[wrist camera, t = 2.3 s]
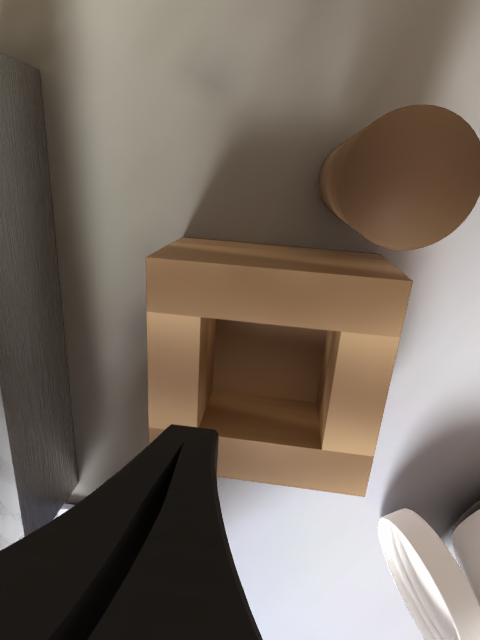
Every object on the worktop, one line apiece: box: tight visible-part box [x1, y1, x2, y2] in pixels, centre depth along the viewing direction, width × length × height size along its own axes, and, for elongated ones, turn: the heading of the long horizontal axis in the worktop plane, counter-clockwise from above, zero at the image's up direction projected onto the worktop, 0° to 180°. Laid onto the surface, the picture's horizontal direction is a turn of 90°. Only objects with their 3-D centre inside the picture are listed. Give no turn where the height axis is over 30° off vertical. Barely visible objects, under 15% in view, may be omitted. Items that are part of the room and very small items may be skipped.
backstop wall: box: [0, 53, 78, 550], centre depth 18 cm, size 22×2×5 cm, turn 176°
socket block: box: [146, 237, 413, 497], centre depth 17 cm, size 9×9×5 cm
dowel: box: [318, 105, 480, 250], centre depth 13 cm, size 3×3×8 cm
